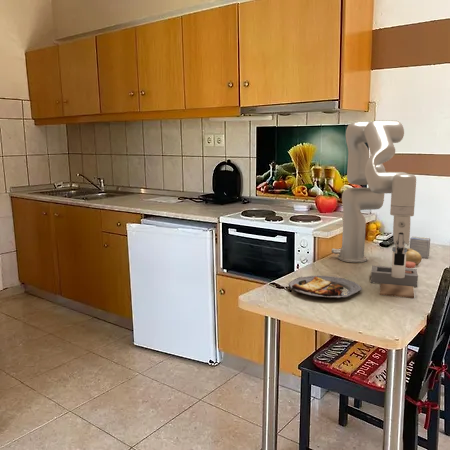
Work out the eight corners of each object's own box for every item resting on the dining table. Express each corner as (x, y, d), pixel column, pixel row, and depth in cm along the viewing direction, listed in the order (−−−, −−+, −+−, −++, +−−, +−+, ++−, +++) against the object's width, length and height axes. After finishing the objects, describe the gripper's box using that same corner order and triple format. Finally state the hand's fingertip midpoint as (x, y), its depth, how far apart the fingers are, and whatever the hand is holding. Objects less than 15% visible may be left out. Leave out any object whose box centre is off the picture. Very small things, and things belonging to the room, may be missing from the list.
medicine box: (429, 256, 212) (430, 238, 211) (427, 258, 209) (429, 239, 207) (410, 254, 216) (412, 236, 215) (408, 256, 213) (410, 237, 211)
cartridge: (390, 277, 161) (392, 249, 159) (390, 273, 165) (392, 246, 164) (405, 278, 159) (407, 250, 158) (405, 275, 164) (407, 247, 162)
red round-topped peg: (401, 281, 173) (402, 263, 172) (401, 277, 177) (402, 260, 176) (414, 282, 172) (415, 264, 170) (413, 279, 176) (415, 261, 174)
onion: (417, 262, 202) (419, 246, 201) (423, 267, 195) (424, 251, 193) (398, 262, 203) (399, 246, 202) (403, 267, 195) (404, 250, 194)
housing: (370, 282, 174) (371, 272, 173) (371, 275, 183) (372, 265, 183) (417, 286, 169) (417, 276, 168) (415, 279, 178) (416, 269, 177)
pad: (379, 294, 160) (379, 292, 160) (380, 285, 171) (380, 283, 170) (414, 298, 157) (414, 296, 157) (412, 288, 167) (413, 286, 167)
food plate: (335, 307, 148) (336, 296, 148) (275, 292, 164) (276, 282, 163) (371, 290, 166) (371, 281, 166) (314, 278, 182) (314, 269, 181)
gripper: (415, 214, 149) (411, 270, 153) (413, 208, 165) (409, 258, 168) (390, 213, 152) (387, 268, 155) (390, 207, 168) (387, 256, 171)
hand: (398, 262), depth 162 cm, fingers closed on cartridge, 4 cm apart
